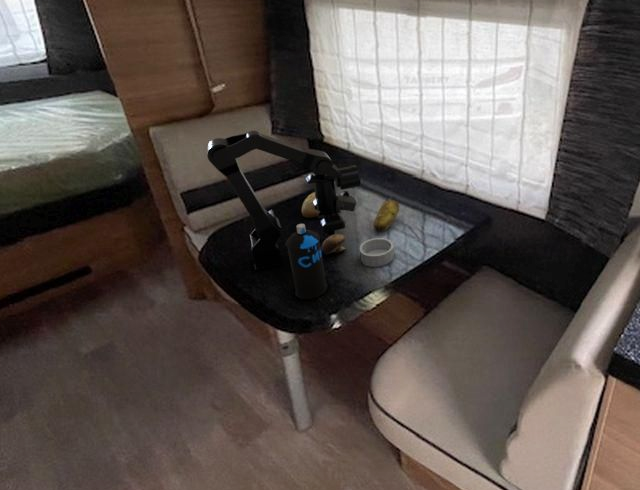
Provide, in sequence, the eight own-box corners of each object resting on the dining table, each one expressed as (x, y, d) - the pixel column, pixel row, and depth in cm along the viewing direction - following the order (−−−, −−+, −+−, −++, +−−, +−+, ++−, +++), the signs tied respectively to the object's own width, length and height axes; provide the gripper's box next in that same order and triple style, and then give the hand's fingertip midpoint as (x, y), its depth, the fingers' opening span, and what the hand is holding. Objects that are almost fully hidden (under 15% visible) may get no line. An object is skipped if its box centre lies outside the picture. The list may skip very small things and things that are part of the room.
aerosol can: (288, 292, 112) (275, 227, 104) (314, 276, 118) (303, 214, 111) (308, 303, 108) (296, 237, 100) (334, 286, 114) (324, 223, 107)
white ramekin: (365, 270, 121) (364, 259, 120) (357, 253, 129) (356, 242, 128) (398, 262, 126) (397, 250, 124) (388, 245, 134) (388, 235, 132)
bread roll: (348, 208, 157) (346, 189, 154) (311, 223, 146) (308, 203, 143) (333, 201, 162) (330, 182, 159) (297, 215, 151) (293, 195, 148)
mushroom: (355, 243, 129) (341, 228, 127) (335, 262, 125) (320, 246, 123) (347, 243, 135) (334, 229, 134) (328, 261, 131) (314, 247, 130)
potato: (364, 230, 142) (362, 209, 139) (390, 215, 153) (388, 195, 150) (382, 237, 139) (380, 215, 135) (407, 221, 149) (406, 201, 146)
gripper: (359, 199, 122) (364, 244, 129) (345, 176, 137) (350, 217, 143) (320, 207, 117) (327, 254, 124) (309, 182, 132) (316, 225, 139)
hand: (331, 236), depth 132 cm, fingers closed
